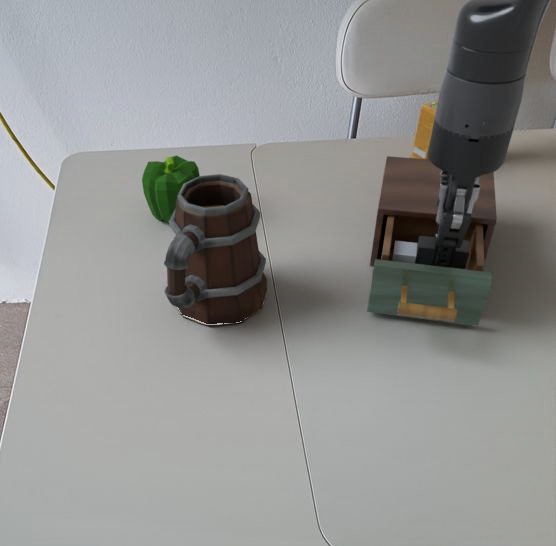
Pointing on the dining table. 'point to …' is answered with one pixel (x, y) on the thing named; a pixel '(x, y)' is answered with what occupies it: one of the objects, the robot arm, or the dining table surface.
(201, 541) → the dining table surface
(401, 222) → the drawer
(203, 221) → the mug
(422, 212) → the cabinet
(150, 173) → the bell pepper
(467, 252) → the usb flash drive
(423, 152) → the supplement box
